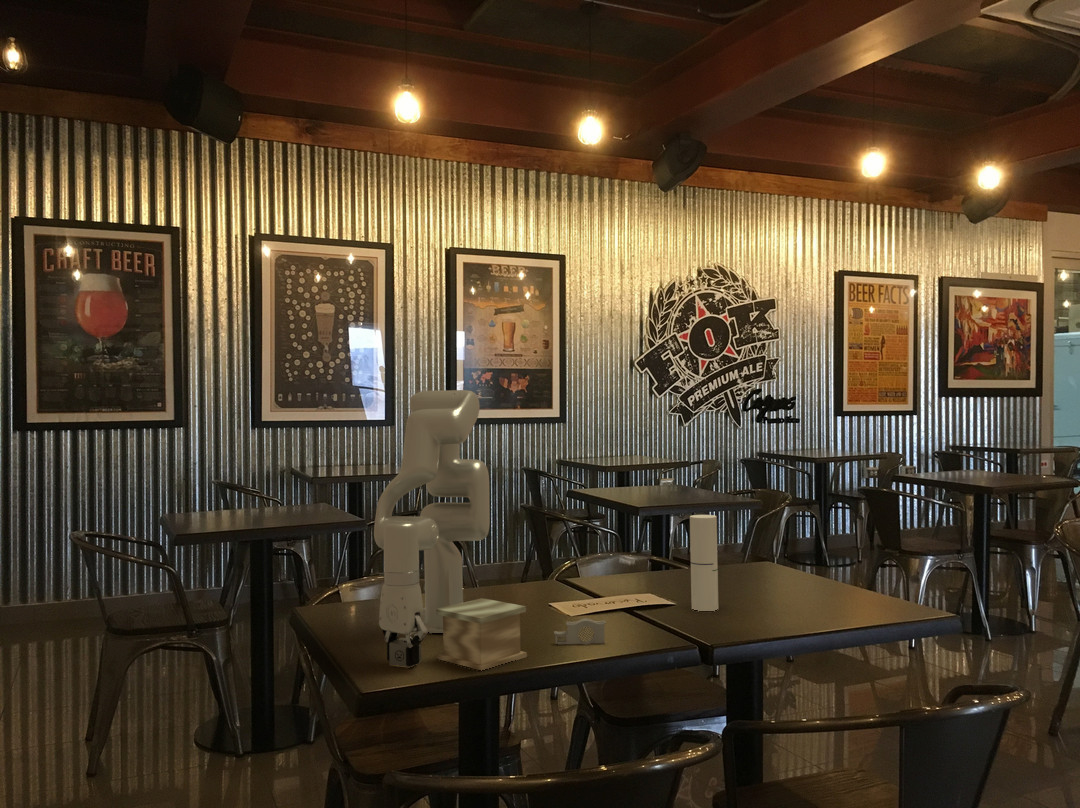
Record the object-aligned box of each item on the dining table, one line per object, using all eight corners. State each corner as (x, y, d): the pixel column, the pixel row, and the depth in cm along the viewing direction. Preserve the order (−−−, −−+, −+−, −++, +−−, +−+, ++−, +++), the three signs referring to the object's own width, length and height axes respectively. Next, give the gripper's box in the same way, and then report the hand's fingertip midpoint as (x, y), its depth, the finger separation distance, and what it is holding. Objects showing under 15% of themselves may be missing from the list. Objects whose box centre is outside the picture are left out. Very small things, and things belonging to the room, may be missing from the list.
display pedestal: (437, 659, 197) (436, 609, 198) (482, 646, 208) (482, 598, 208) (481, 671, 188) (480, 618, 188) (527, 656, 198) (526, 606, 198)
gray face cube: (409, 668, 191) (409, 645, 191) (389, 666, 193) (389, 643, 193) (421, 662, 196) (421, 639, 196) (401, 660, 198) (401, 637, 198)
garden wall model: (554, 645, 208) (554, 620, 208) (554, 643, 210) (553, 618, 210) (606, 644, 208) (605, 618, 208) (605, 642, 210) (604, 616, 210)
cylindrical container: (686, 607, 244) (685, 515, 244) (710, 605, 246) (708, 514, 246) (699, 612, 237) (697, 518, 237) (723, 610, 240) (721, 517, 240)
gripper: (363, 576, 197) (364, 659, 197) (414, 585, 186) (415, 673, 185) (390, 571, 203) (391, 652, 203) (441, 580, 191) (442, 665, 191)
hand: (403, 661), depth 194 cm, fingers closed on gray face cube, 5 cm apart
